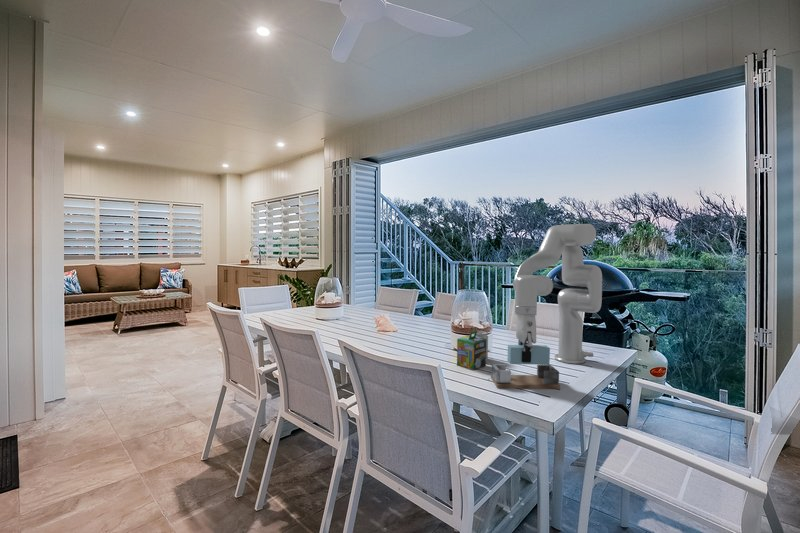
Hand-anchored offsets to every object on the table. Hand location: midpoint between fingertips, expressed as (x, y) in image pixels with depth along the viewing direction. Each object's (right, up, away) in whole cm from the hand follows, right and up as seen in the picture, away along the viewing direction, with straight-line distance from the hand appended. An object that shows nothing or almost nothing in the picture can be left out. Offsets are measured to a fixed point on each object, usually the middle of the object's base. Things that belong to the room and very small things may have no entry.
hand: (524, 359), depth 145 cm
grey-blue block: (+1, -1, 0) cm, 2 cm away
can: (-10, -7, +32) cm, 34 cm away
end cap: (-8, -7, +1) cm, 11 cm away
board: (0, -9, +1) cm, 9 cm away
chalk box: (-15, -8, +22) cm, 28 cm away
